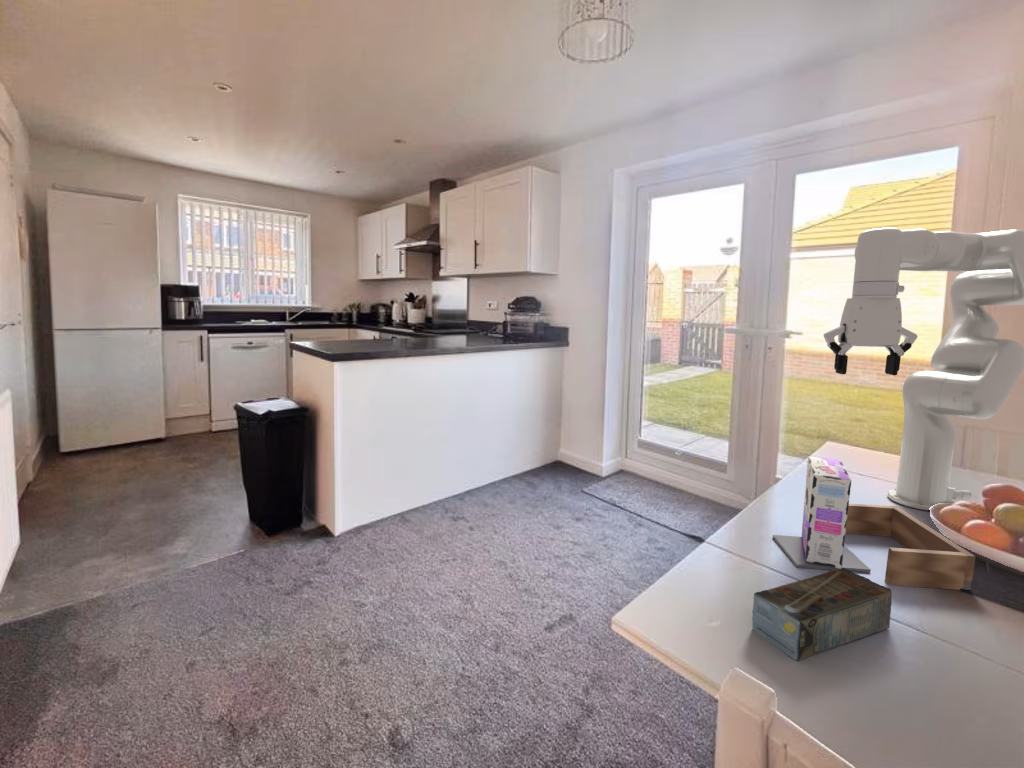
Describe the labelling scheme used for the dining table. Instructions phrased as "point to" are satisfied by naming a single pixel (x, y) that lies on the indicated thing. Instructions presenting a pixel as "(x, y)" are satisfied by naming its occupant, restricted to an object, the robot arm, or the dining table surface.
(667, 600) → the dining table surface
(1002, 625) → the dining table surface
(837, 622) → the beverage carton
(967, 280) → the robot arm
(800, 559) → the mat
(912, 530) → the bracket
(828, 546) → the candy box
